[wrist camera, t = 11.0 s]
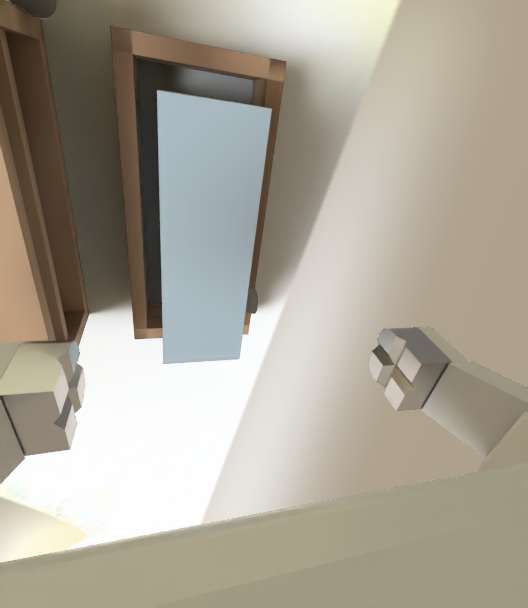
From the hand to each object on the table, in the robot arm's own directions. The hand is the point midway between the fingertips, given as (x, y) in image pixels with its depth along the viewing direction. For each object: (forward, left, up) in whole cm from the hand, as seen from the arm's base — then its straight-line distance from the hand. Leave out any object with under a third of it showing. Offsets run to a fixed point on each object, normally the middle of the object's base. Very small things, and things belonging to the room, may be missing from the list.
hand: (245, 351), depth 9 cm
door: (0, 0, -15) cm, 15 cm away
